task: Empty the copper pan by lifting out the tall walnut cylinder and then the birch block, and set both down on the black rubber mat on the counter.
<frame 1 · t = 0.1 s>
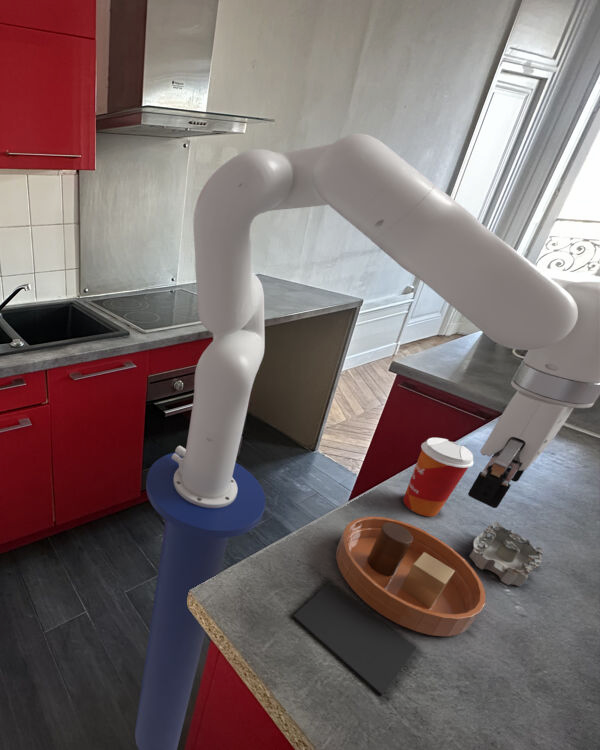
hand: (493, 488, 59), 18 cm above the countertop, tool pointing down, fingers open, 9 cm apart
birch block: (420, 591, 63), resting on pan
mat: (352, 632, 58), on the countertop
walnut cylinder: (381, 565, 67), resting on pan
egg carton: (499, 561, 70), on the countertop
pan: (398, 580, 65), on the countertop
paper cup: (419, 507, 81), on the countertop
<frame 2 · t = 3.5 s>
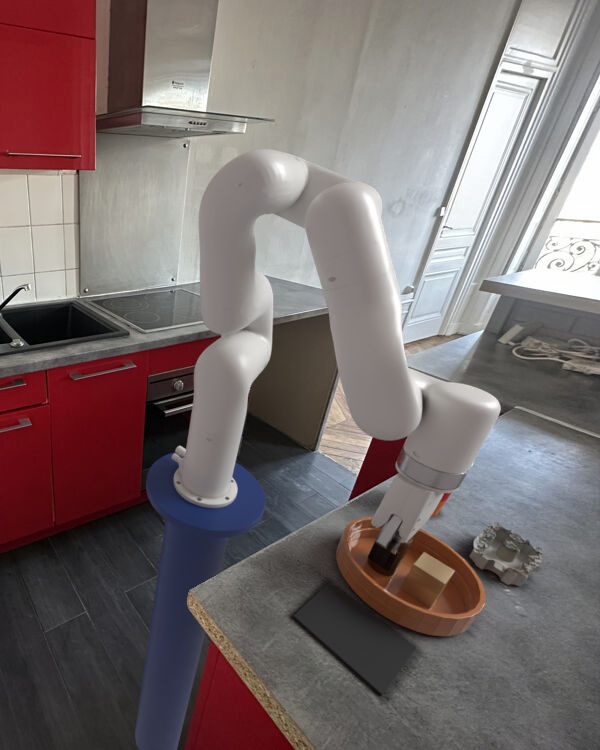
hand: (385, 556, 66), 3 cm above the countertop, tool pointing down, fingers closed on walnut cylinder, 4 cm apart
walnut cylinder: (381, 565, 67), point 1 cm above the countertop, touching gripper, pan
everything else where it was.
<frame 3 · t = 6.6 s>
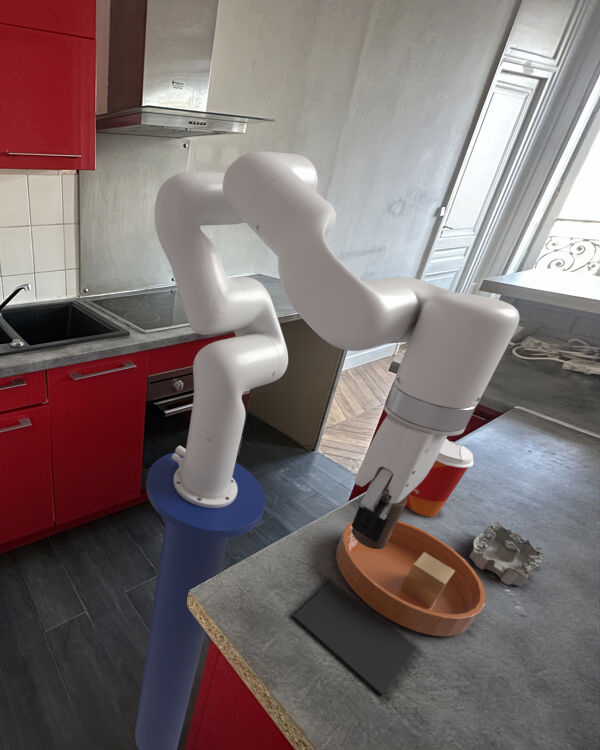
hand: (373, 524, 54), 16 cm above the countertop, tool pointing down, fingers closed on walnut cylinder, 4 cm apart
walnut cylinder: (368, 537, 55), point 14 cm above the countertop, touching gripper
everything else where it was.
when the fingers open (3 cm above the countertop, at t = 10.1 s): walnut cylinder stays where it is, resting on mat.
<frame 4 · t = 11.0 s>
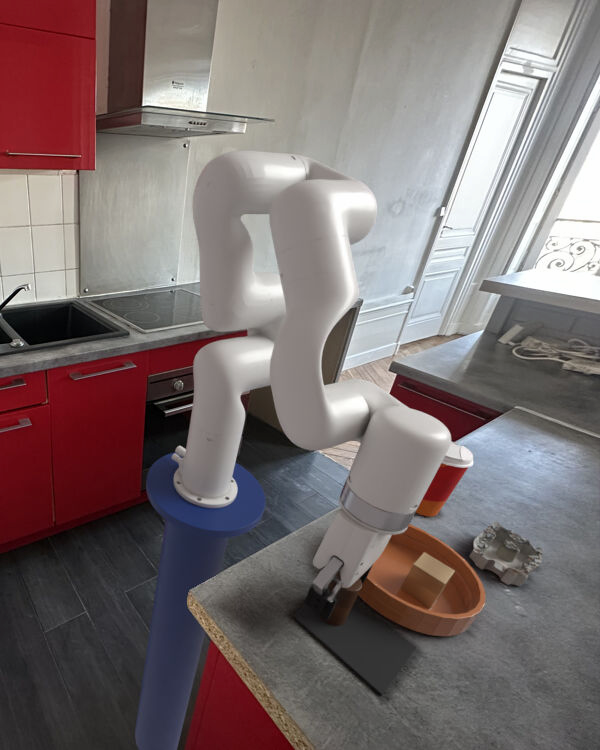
hand: (334, 592, 58), 4 cm above the countertop, tool pointing down, fingers open, 9 cm apart
walnut cylinder: (330, 612, 60), resting on mat
everything else where it was.
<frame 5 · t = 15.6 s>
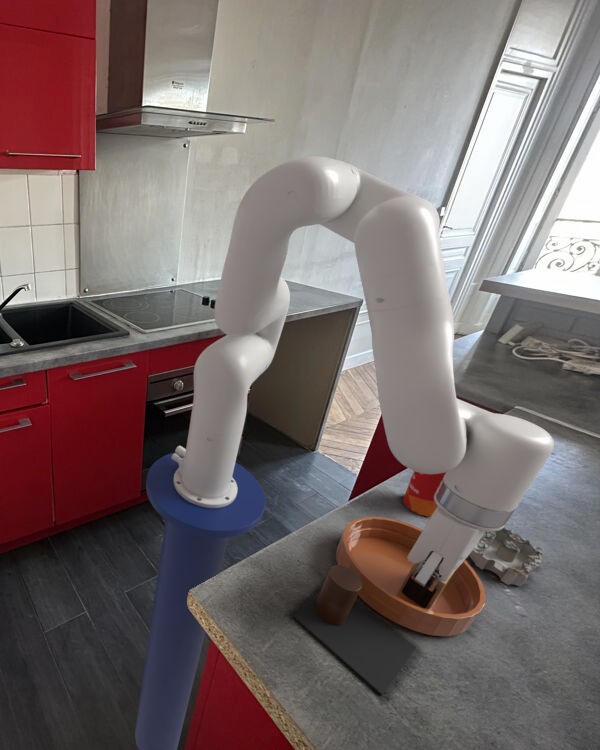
hand: (420, 590, 63), 1 cm above the countertop, tool pointing down, fingers closed on birch block, 4 cm apart
birch block: (420, 591, 63), point 1 cm above the countertop, touching gripper, pan
everything else where it was.
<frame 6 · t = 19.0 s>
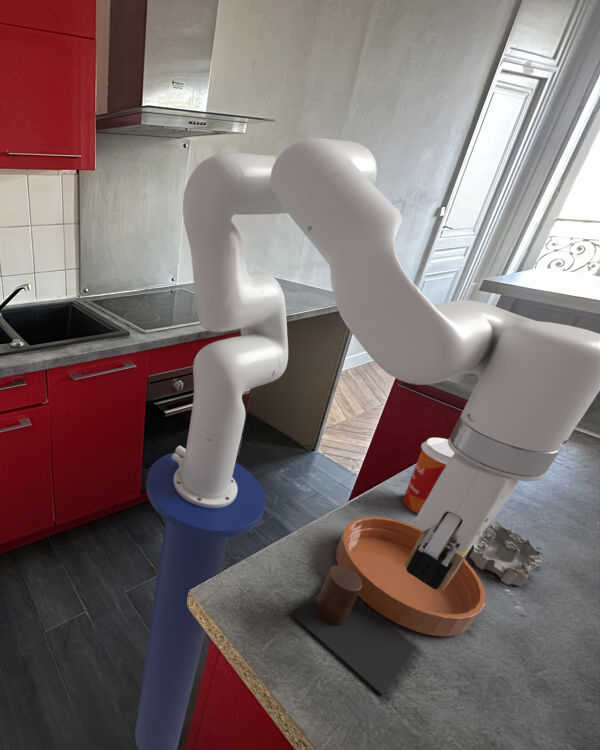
hand: (430, 568, 49), 15 cm above the countertop, tool pointing down, fingers closed on birch block, 4 cm apart
birch block: (429, 569, 49), point 15 cm above the countertop, touching gripper
everything else where it was.
when the fingers open (1 cm above the countertop, at t = 22.7 s): birch block stays where it is, resting on mat.
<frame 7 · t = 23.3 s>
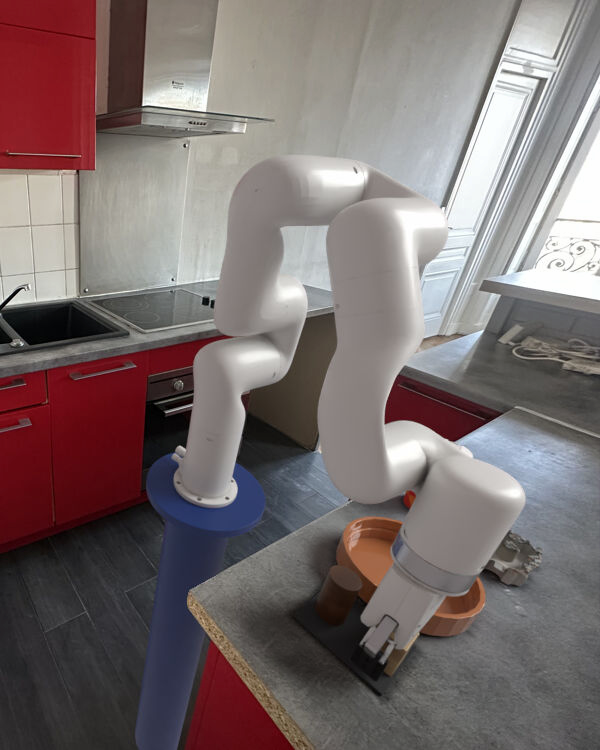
hand: (381, 647, 54), 2 cm above the countertop, tool pointing down, fingers open, 9 cm apart
birch block: (380, 654, 55), resting on mat
everything else where it was.
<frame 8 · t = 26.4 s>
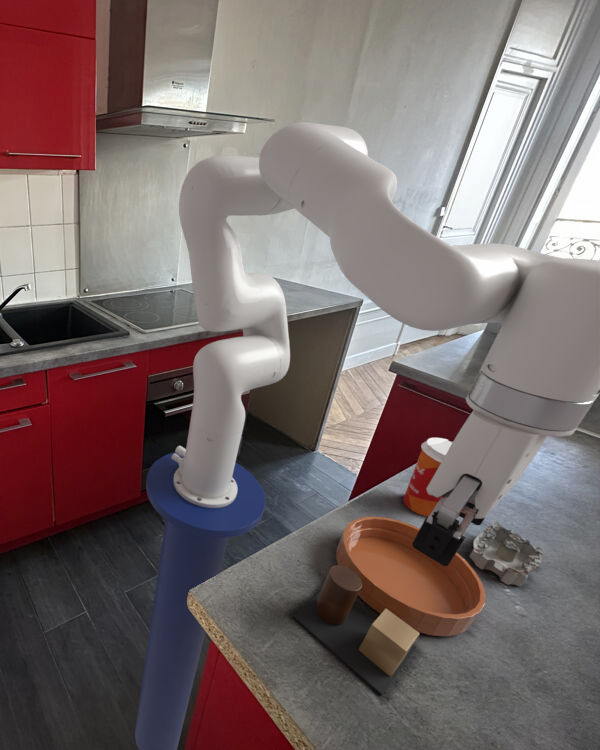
hand: (447, 535, 45), 22 cm above the countertop, tool pointing down, fingers open, 9 cm apart
nothing on the countertop moved.
at the end: walnut cylinder inside the target area (3.3 cm from its centre), resting on mat; birch block inside the target area (3.7 cm from its centre), resting on mat; walnut cylinder tilted 0° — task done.
